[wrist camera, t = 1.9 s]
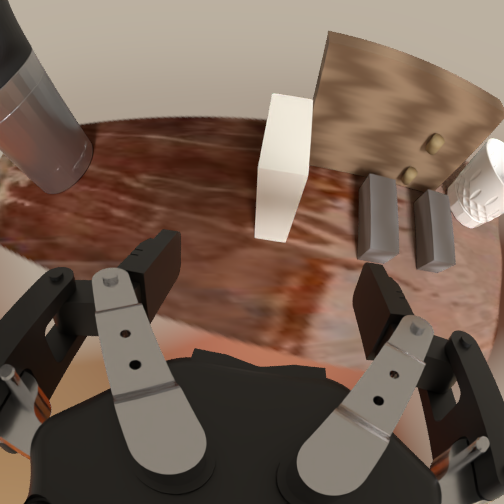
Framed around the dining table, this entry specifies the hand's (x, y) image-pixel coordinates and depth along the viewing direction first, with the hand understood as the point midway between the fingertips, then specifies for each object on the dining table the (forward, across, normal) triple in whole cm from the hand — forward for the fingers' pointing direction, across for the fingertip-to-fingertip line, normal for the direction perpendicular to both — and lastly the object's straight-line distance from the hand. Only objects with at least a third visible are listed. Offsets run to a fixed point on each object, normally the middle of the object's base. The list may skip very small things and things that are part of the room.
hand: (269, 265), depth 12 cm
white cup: (+22, -25, -1) cm, 33 cm away
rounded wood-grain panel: (+19, -11, +2) cm, 22 cm away
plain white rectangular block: (+17, 0, +3) cm, 18 cm away
